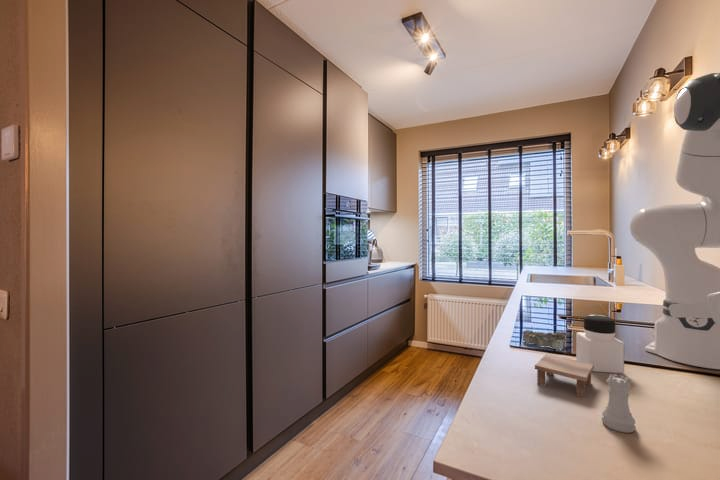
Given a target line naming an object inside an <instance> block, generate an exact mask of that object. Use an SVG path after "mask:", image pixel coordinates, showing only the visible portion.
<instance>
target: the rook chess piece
mask: <svg viewBox="0 0 720 480" xmlns="http://www.w3.org/2000/svg"><path fill="white" fill-rule="evenodd" d="M605 382H606V383H607V385H608V386H609V388H608V389H607V391H608V394H609V396H608V402H607V405H606V406H605V407H604V408H605V409H603V410H602V413H601V415H602V416H603V417H601V421H602V423H603V424H604V426H606V427H607V428H608V429H611V430H613V431H615V432H619V433H623V434H632V433H633V432H635V431H636V429H637V428H636V426H635V425H636V420H635V418H634V417H633V413H631V410H630V406H629V397H630V393H629V392H628V391H629V390H630V389H631V388H632V384H631V383H630V382H629V378H628V377H625V376H623V375H620V376H619V377H618V374H616V373H613V374H609V376H608V378H607V379H606V381H605Z"/></svg>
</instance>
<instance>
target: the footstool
mask: <svg viewBox="0 0 720 480" xmlns="http://www.w3.org/2000/svg"><path fill="white" fill-rule="evenodd" d="M593 369H594V364H590V363H586V362H581V361H577V360H575V359H571V358H566V357H562V356H557V355H553V354H547V353H545V354H544V356H543V357H541V358H540V360H539V361H538V362H536V363H535V364H534V370H536V371H537V374H536V375H537V379H536V382H537V385H539V386H542V387H545V385H546V375H549V376H553V375H558V376H562V377H566V378H571V379H573V380H576V396H578V397H583V398H585V396H586V385H589V386H591V384H592V372H593V371H592V370H593Z"/></svg>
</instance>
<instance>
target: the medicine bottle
mask: <svg viewBox="0 0 720 480" xmlns="http://www.w3.org/2000/svg"><path fill="white" fill-rule="evenodd" d="M575 335H576V336H575V337H576V339H575V340H576V343H575V344H576V345H575V346H576V349H575V351H576V352H575V355H576V356H575V359H576V361H581V362H586V363H590V364H594V369H593V370H592V372H596V373H597V372H598V373H611V374H622V375H623V374H624V373H625V342H623V341H621V340H620V339H618V338H617V337H615V336H616V320H615V319H614V318H612V317H610V316H606V315H602V314H601V315H600V314H588V315H585V316H584V317H583V332H581V331H580V332H579V331H578V332H576V334H575Z"/></svg>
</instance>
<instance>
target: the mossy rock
mask: <svg viewBox="0 0 720 480" xmlns="http://www.w3.org/2000/svg"><path fill="white" fill-rule="evenodd" d="M567 336H568V333H567V332H566V331H565V332H564V331H554V333H553V332H552V331H549V332H544V331H533V330H530V329H526V330H523V331H522V342H523V341H525V342H526V343H534V344H537V345H536V346H550V347H552V348H553V349H561V350H560V351H563V350H564V348H567V339H566V338H567ZM526 343H525V344H526ZM534 344H533V345H534ZM563 346H564V347H563ZM562 349H563V350H562Z"/></svg>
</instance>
